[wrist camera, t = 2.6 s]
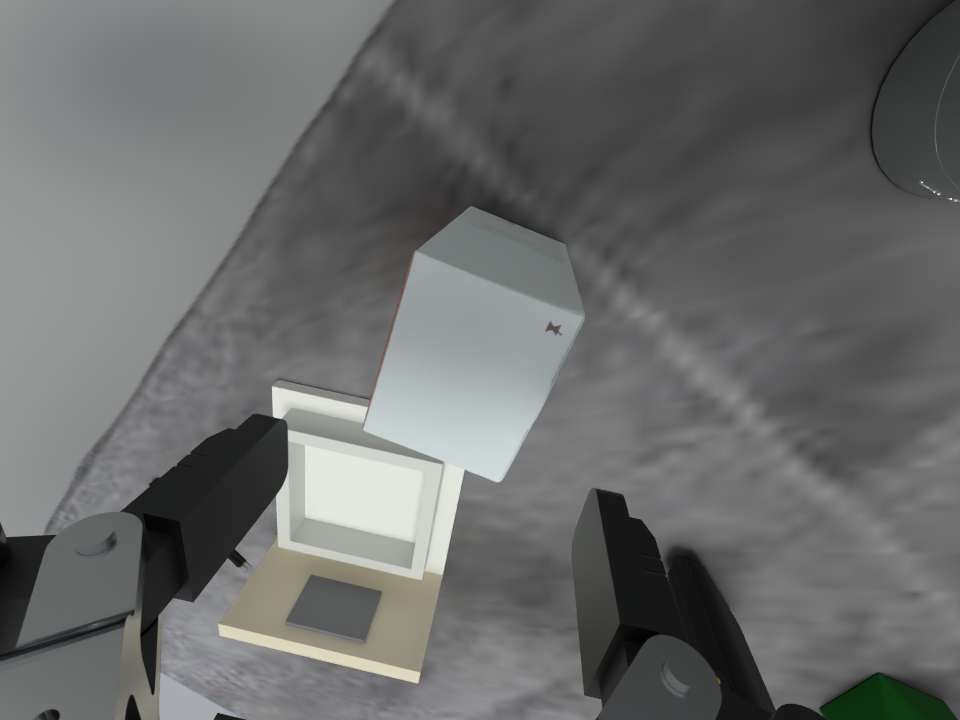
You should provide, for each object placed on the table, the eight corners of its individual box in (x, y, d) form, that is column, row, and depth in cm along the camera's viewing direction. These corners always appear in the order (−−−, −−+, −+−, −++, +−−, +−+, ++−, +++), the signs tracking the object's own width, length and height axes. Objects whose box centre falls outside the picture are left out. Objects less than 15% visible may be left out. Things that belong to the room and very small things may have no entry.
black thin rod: (254, 563, 43) (248, 572, 42) (247, 566, 43) (241, 575, 42) (161, 474, 39) (152, 482, 38) (155, 478, 39) (146, 486, 38)
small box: (469, 203, 26) (412, 244, 14) (568, 243, 26) (593, 315, 14) (429, 322, 29) (357, 434, 18) (517, 356, 30) (503, 488, 18)
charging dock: (279, 379, 33) (194, 453, 25) (474, 423, 32) (452, 512, 24) (284, 538, 40) (219, 635, 32) (442, 575, 40) (418, 683, 32)
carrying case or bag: (649, 543, 35) (715, 777, 22) (686, 530, 34) (779, 768, 21) (701, 623, 38) (787, 870, 25) (736, 614, 37) (845, 866, 24)
